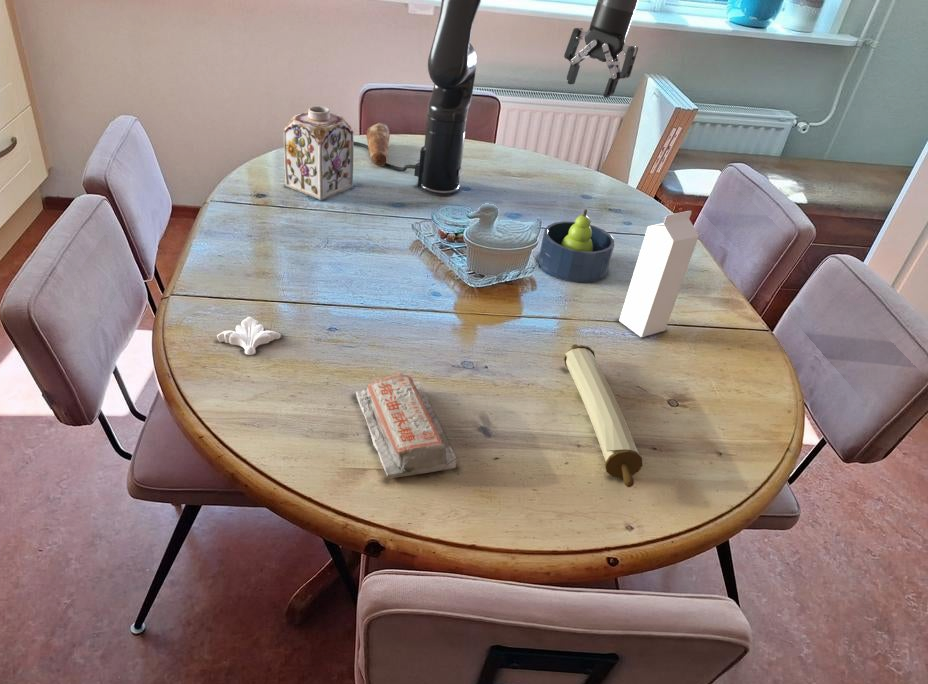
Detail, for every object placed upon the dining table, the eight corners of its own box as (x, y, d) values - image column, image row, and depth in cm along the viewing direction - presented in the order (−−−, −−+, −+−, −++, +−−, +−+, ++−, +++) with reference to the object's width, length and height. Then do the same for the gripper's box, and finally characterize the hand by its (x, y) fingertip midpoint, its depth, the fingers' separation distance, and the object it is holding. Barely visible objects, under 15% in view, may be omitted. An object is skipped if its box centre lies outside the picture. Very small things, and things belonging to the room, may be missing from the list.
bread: (389, 143, 193) (390, 123, 189) (388, 169, 178) (389, 147, 174) (366, 141, 192) (367, 121, 189) (363, 167, 177) (364, 145, 174)
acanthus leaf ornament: (217, 341, 113) (216, 332, 112) (245, 323, 118) (244, 313, 117) (253, 357, 110) (252, 347, 109) (281, 337, 115) (280, 328, 114)
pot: (528, 269, 141) (534, 239, 137) (551, 243, 151) (557, 215, 147) (595, 289, 137) (603, 259, 133) (614, 261, 147) (622, 233, 143)
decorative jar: (317, 173, 172) (317, 97, 161) (354, 187, 167) (356, 110, 156) (283, 187, 164) (280, 107, 153) (320, 201, 159) (320, 121, 148)
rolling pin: (645, 499, 93) (656, 472, 90) (604, 498, 92) (614, 471, 89) (587, 357, 118) (594, 332, 115) (554, 356, 118) (560, 331, 114)
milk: (665, 331, 127) (707, 218, 113) (640, 338, 124) (680, 223, 111) (641, 314, 131) (679, 203, 117) (617, 320, 128) (653, 207, 115)
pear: (553, 264, 142) (565, 210, 135) (563, 252, 147) (575, 200, 140) (583, 273, 140) (597, 219, 133) (592, 261, 145) (606, 208, 138)
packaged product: (462, 443, 91) (389, 455, 88) (458, 470, 94) (387, 482, 91) (420, 363, 105) (355, 371, 102) (418, 388, 108) (354, 396, 105)
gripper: (576, -5, 137) (551, 81, 147) (642, 15, 132) (611, 103, 141) (592, -5, 143) (566, 78, 152) (656, 15, 137) (625, 99, 146)
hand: (588, 90), depth 147 cm, fingers open, 8 cm apart
